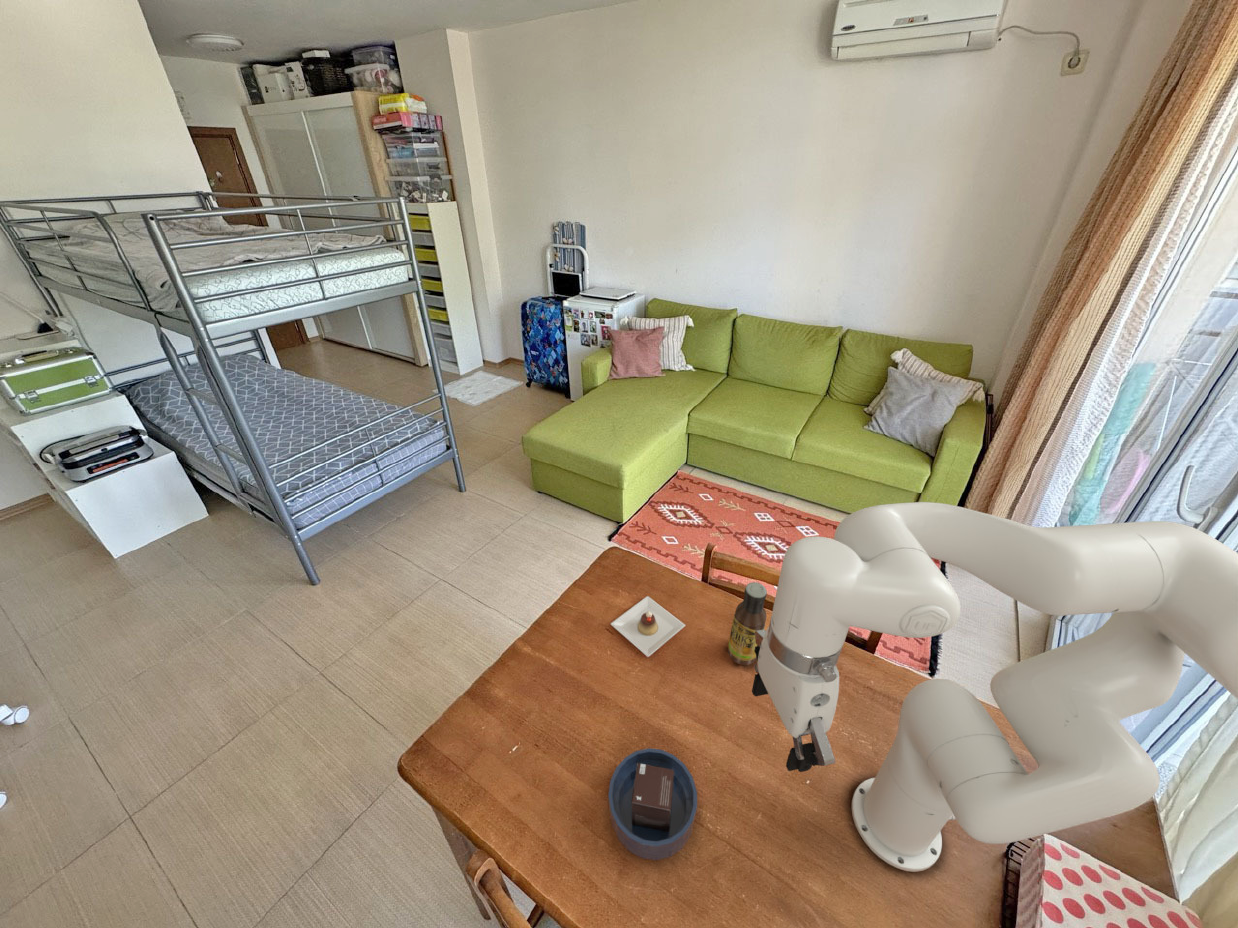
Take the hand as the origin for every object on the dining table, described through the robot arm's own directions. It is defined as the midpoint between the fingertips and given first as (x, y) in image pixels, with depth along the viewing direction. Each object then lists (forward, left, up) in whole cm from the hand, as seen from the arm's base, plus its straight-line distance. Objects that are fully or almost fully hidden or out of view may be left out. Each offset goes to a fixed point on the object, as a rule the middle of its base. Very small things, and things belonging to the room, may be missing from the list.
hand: (779, 726), depth 63 cm
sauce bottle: (-11, -30, -28) cm, 43 cm away
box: (+15, -6, -28) cm, 32 cm away
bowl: (+15, -6, -28) cm, 32 cm away
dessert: (+7, -41, -28) cm, 50 cm away
